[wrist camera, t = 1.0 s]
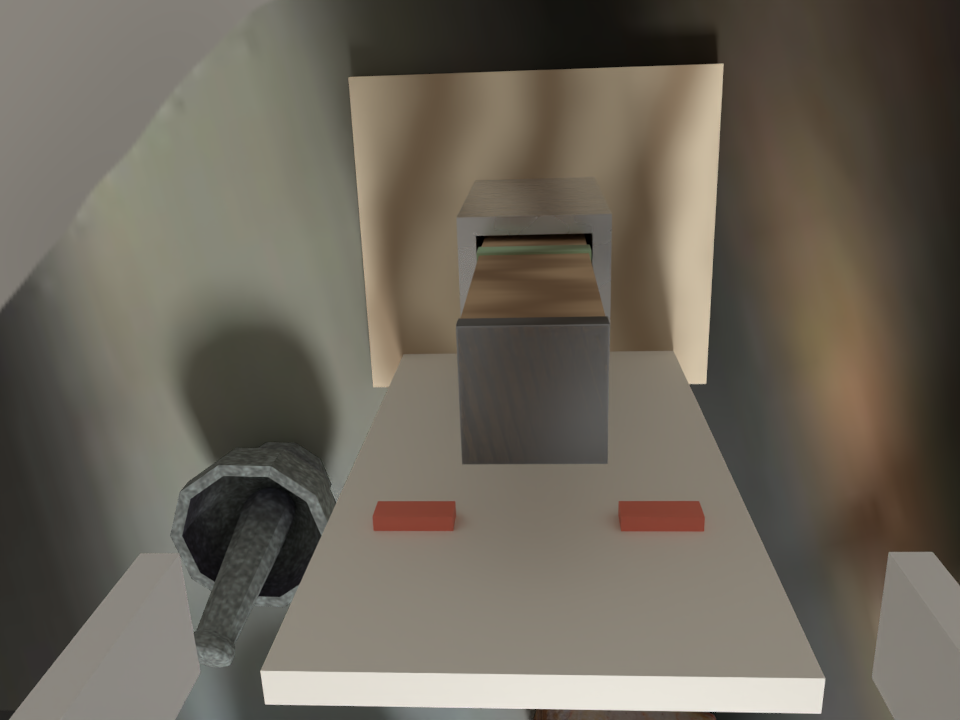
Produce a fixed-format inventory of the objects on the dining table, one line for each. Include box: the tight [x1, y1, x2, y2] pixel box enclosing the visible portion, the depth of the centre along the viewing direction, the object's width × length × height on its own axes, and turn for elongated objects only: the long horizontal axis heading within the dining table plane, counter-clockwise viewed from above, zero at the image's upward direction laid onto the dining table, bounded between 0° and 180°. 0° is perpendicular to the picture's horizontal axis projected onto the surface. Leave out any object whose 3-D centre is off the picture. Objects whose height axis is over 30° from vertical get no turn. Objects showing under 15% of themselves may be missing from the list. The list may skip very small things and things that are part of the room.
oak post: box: [456, 233, 610, 464], centre depth 37 cm, size 5×5×24 cm
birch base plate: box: [348, 64, 723, 387], centre depth 50 cm, size 20×18×2 cm
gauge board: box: [260, 351, 825, 714], centre depth 38 cm, size 16×2×28 cm, turn 92°
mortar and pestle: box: [170, 442, 336, 668], centre depth 52 cm, size 11×9×12 cm
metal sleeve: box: [456, 177, 612, 361], centre depth 44 cm, size 7×7×12 cm
